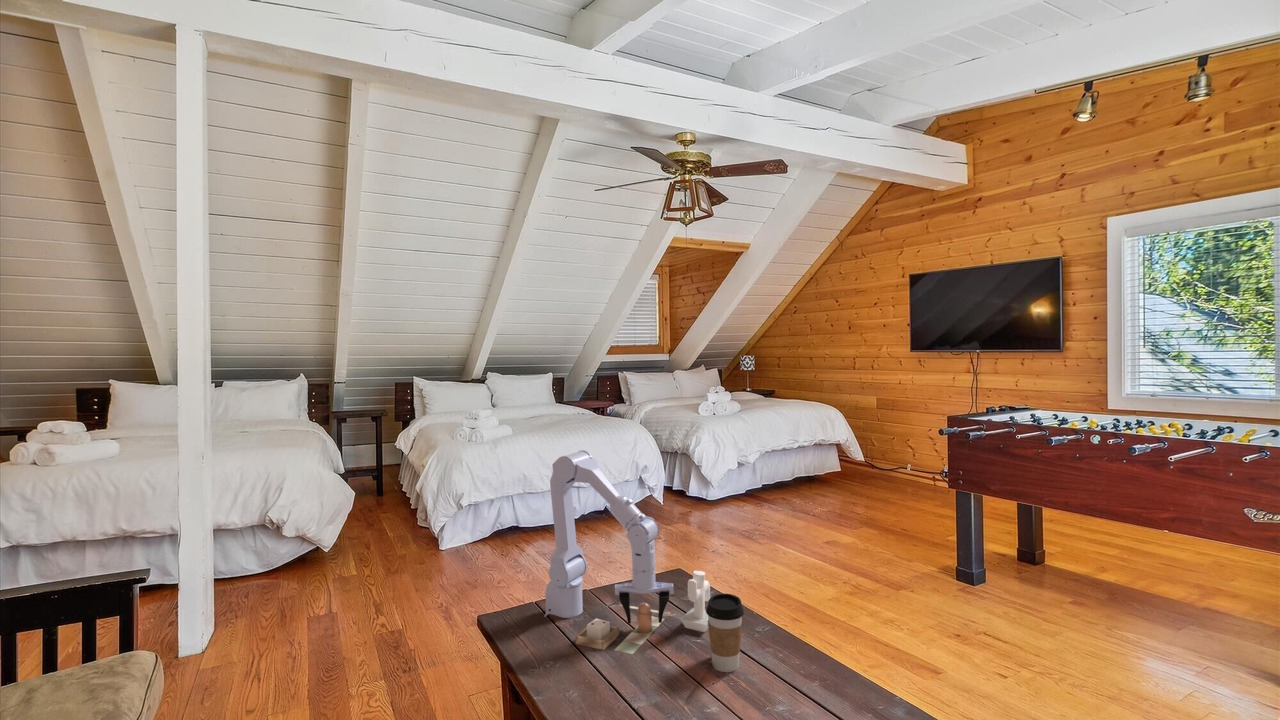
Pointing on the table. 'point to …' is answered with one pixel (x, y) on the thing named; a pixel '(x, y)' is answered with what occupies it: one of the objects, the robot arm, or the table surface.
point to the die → (598, 629)
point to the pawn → (644, 618)
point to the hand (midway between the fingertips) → (644, 621)
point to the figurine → (697, 603)
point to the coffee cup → (725, 631)
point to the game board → (614, 633)
